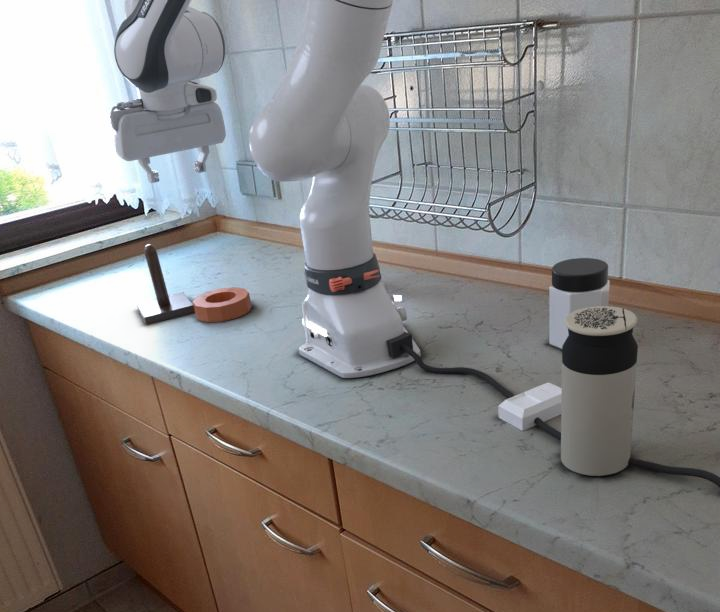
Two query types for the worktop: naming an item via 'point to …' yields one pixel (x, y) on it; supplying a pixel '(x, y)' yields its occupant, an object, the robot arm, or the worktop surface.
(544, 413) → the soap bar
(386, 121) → the robot arm
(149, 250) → the peg stand
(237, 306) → the ring
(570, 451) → the travel mug
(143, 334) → the worktop surface
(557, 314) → the jar
